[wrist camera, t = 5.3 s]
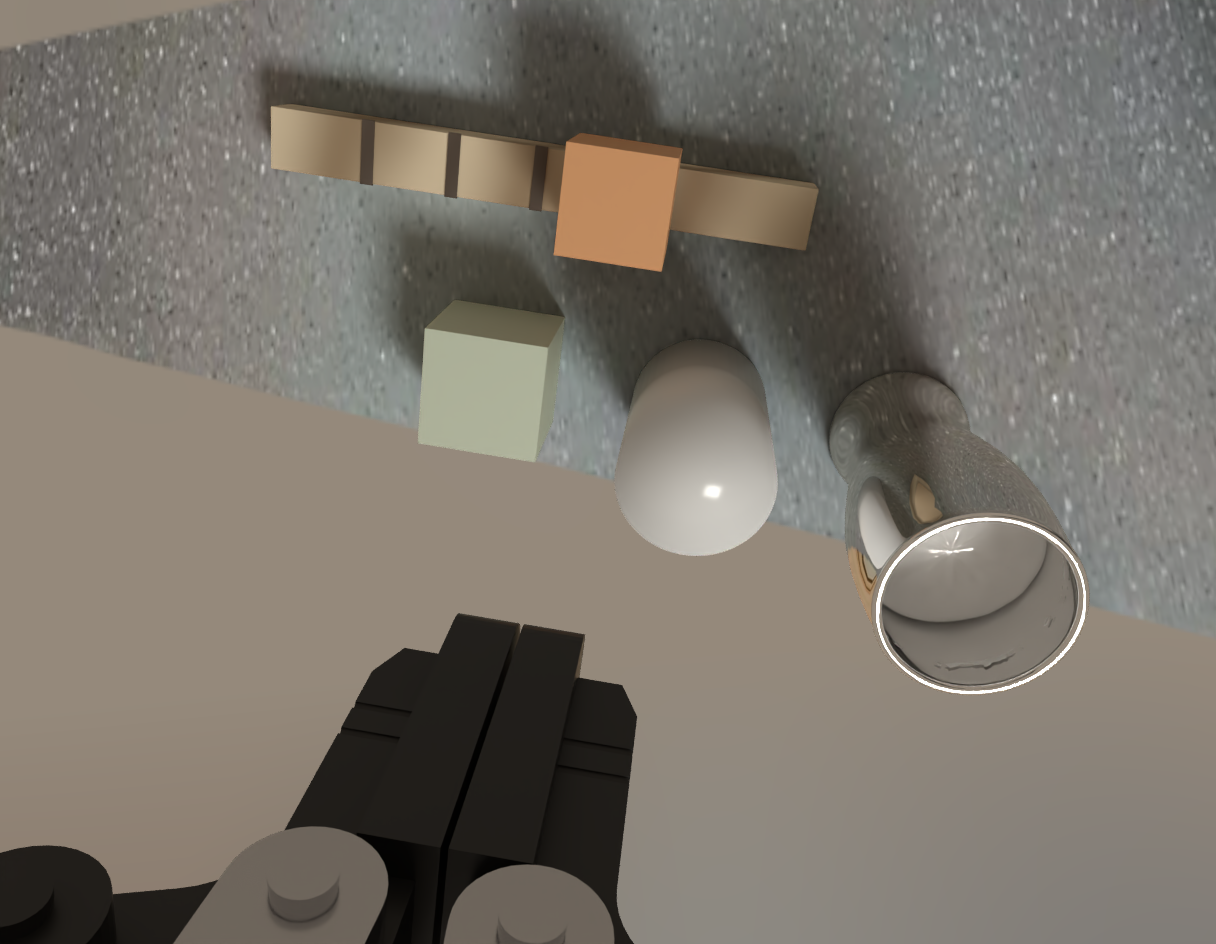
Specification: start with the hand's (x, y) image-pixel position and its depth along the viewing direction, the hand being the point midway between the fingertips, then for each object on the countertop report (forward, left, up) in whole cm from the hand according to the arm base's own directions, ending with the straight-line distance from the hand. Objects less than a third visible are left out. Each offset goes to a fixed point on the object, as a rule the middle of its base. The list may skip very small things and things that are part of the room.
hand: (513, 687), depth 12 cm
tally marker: (+2, -2, -31) cm, 31 cm away
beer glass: (-12, +7, -33) cm, 36 cm away
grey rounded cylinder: (-3, +7, -33) cm, 34 cm away
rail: (+5, -2, -33) cm, 33 cm away
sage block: (+6, +7, -33) cm, 34 cm away
